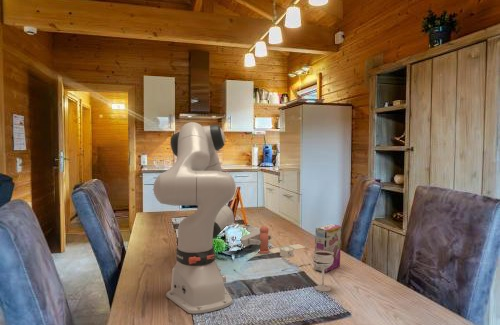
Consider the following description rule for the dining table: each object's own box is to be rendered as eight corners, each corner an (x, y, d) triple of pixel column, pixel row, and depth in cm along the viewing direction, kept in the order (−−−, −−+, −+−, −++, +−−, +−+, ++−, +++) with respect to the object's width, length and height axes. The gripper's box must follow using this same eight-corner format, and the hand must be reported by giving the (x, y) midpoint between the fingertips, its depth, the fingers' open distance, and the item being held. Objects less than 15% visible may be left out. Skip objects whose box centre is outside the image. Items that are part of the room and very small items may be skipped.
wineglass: (334, 293, 107) (334, 256, 107) (312, 291, 108) (313, 255, 108) (332, 284, 114) (333, 250, 113) (312, 283, 115) (313, 248, 115)
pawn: (271, 252, 145) (271, 226, 144) (262, 254, 142) (262, 227, 142) (265, 249, 149) (265, 224, 148) (256, 251, 147) (256, 225, 146)
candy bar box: (325, 274, 124) (326, 230, 123) (313, 270, 127) (314, 227, 126) (341, 266, 131) (341, 225, 131) (330, 263, 135) (330, 223, 134)
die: (293, 258, 141) (293, 249, 141) (287, 260, 138) (287, 251, 138) (285, 256, 144) (286, 246, 144) (279, 258, 141) (279, 248, 141)
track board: (309, 250, 152) (309, 248, 151) (251, 261, 137) (251, 258, 137) (295, 244, 160) (295, 242, 160) (240, 254, 146) (240, 252, 146)
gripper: (225, 233, 143) (253, 238, 136) (251, 224, 161) (276, 228, 153) (225, 247, 144) (252, 253, 136) (251, 237, 161) (276, 241, 153)
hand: (265, 240), depth 145 cm, fingers open, 8 cm apart
